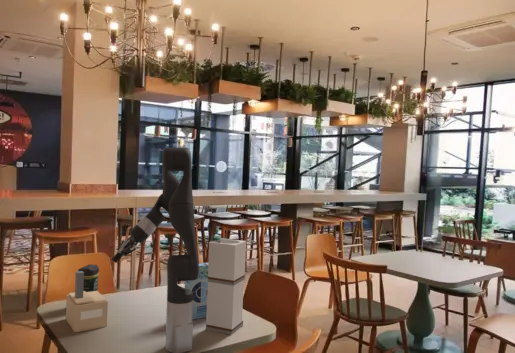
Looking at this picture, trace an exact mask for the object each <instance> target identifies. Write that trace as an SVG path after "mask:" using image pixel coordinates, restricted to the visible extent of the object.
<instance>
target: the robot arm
mask: <svg viewBox="0 0 515 353" xmlns="http://www.w3.org/2000/svg"><path fill="white" fill-rule="evenodd" d="M161 156H162V158H161V163H162V164H161V169H162V170H161V171H162V180H163V187H162V193H161V194H160V195H159V196H158V198H157V200H156V202H155V203H154V205H153V207H152V208H151V209H150V211H149V212H148V213H147V214H146V215H145V216H144V217H143V218H141V220H139V222H137V223H136V225H134V226H133V227H132V229H131V230H129V235H130V236H129V237H126V239H125V240H124V239H122V240H121V242H120V244H119V246H118V248H117V252H116V253H115V254H114V255H113V257H112V258H111V261H113V262H114V263H118V261H119V260H120V259H121V258H122V257H124V256H125V257H126V256H128V255H129V254H131V253H132V252H134V251H136V250H137V248H136V246H137V245H138V244H142V245H143V243H144V242H146V240H147V239H149V237H150V236H151V235H152V234H153V233H155V230H156V229H157V228H158V227H160V225H161V224H162V223H163V222H164V220H165V216H164V214H163V213H162V212H161V209H164V211H166V212H167V213H168V219H169V222H170V224H171V226H172V228H173V229H174V231H175V232H176V234H177V235H178V236H179V237H180V239H181V240H182V242H183V243H184V246H185V249H186V254H172V255H170V256H169V257H168V259H167V264H166V275H167V276H166V277H167V278H166V279H167V280H166V282H167V285H166V286H167V288H166V292H167V293H166V316H165V317H166V318H165V347H164V348H165V351H167V352H168V353H186V352H191V351H193V331H194V329H193V328H194V325H193V320H194V319H193V292H192V291H191V290H189V289H187V288H185V287H183V286H180V285H179V284H178V282H185V281H191V280H196V279H197V278H198V275H199V263H200V262H199V257H198V256H199V255H198V247H197V243H196V242H197V241H196V231H195V229H196V227H195V226H196V225H195V206H194V196H193V184H192V180H193V179H192V178H193V177H192V170H193V169H192V166H193V165H192V152H191V151H190V149H189V148H188V147H165V148H163V151H162V155H161ZM173 172H182V178H181V180H180V179H178V177H177V176H176V175H175V174H174V173H173ZM179 180H180V181H179Z"/></svg>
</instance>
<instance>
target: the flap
mask: <svg viewBox="0 0 515 353" xmlns="http://www.w3.org/2000/svg"><path fill="white" fill-rule="evenodd" d="M74 279H75V280H74V281H75V282H74V284H75V285H74V292H69V293H68V295H70V297H71V298H72V299H73V300H74V302H75V303H76V304H83V303H90V302H94V300H93V299H92V298H91V297H90V296H89V295H88V294H87V293H86V292H85V291H83V288H84V272H83V271H78V270H77V271H75V278H74Z"/></svg>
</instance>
